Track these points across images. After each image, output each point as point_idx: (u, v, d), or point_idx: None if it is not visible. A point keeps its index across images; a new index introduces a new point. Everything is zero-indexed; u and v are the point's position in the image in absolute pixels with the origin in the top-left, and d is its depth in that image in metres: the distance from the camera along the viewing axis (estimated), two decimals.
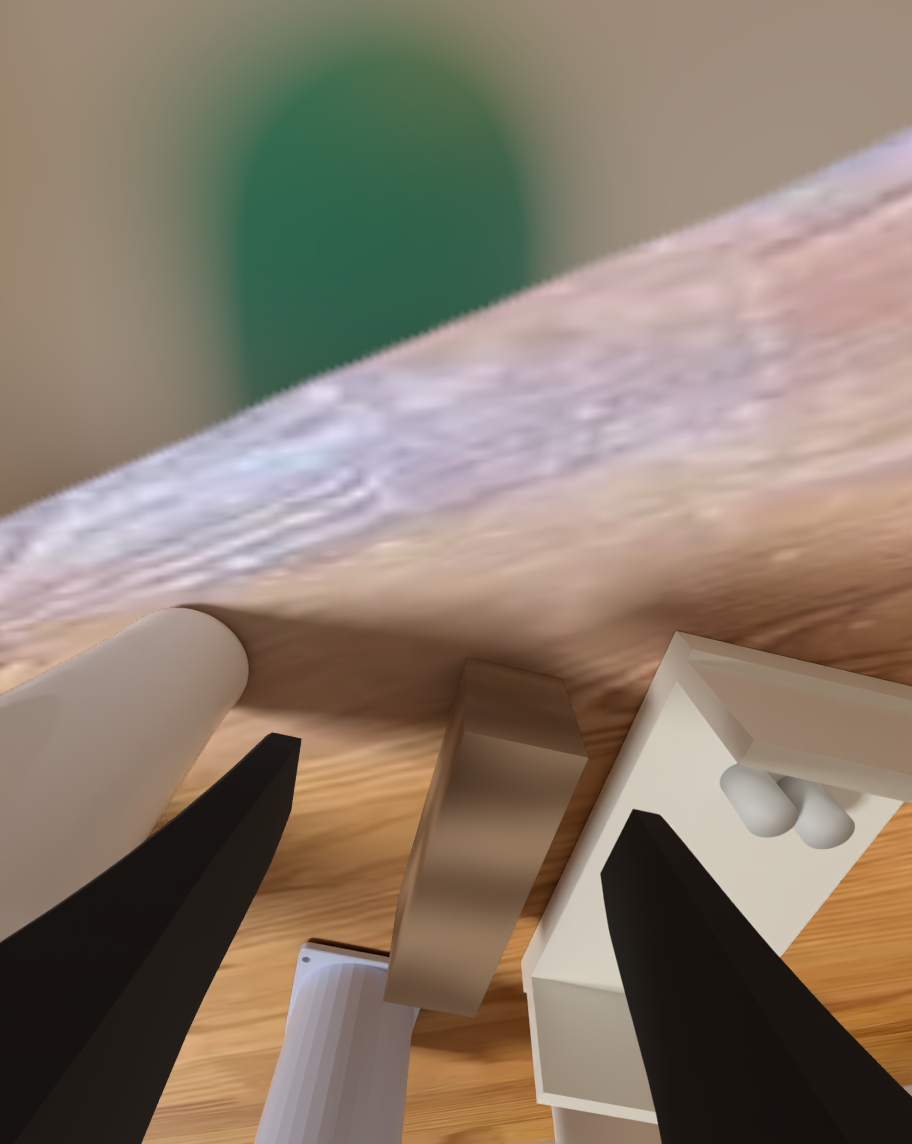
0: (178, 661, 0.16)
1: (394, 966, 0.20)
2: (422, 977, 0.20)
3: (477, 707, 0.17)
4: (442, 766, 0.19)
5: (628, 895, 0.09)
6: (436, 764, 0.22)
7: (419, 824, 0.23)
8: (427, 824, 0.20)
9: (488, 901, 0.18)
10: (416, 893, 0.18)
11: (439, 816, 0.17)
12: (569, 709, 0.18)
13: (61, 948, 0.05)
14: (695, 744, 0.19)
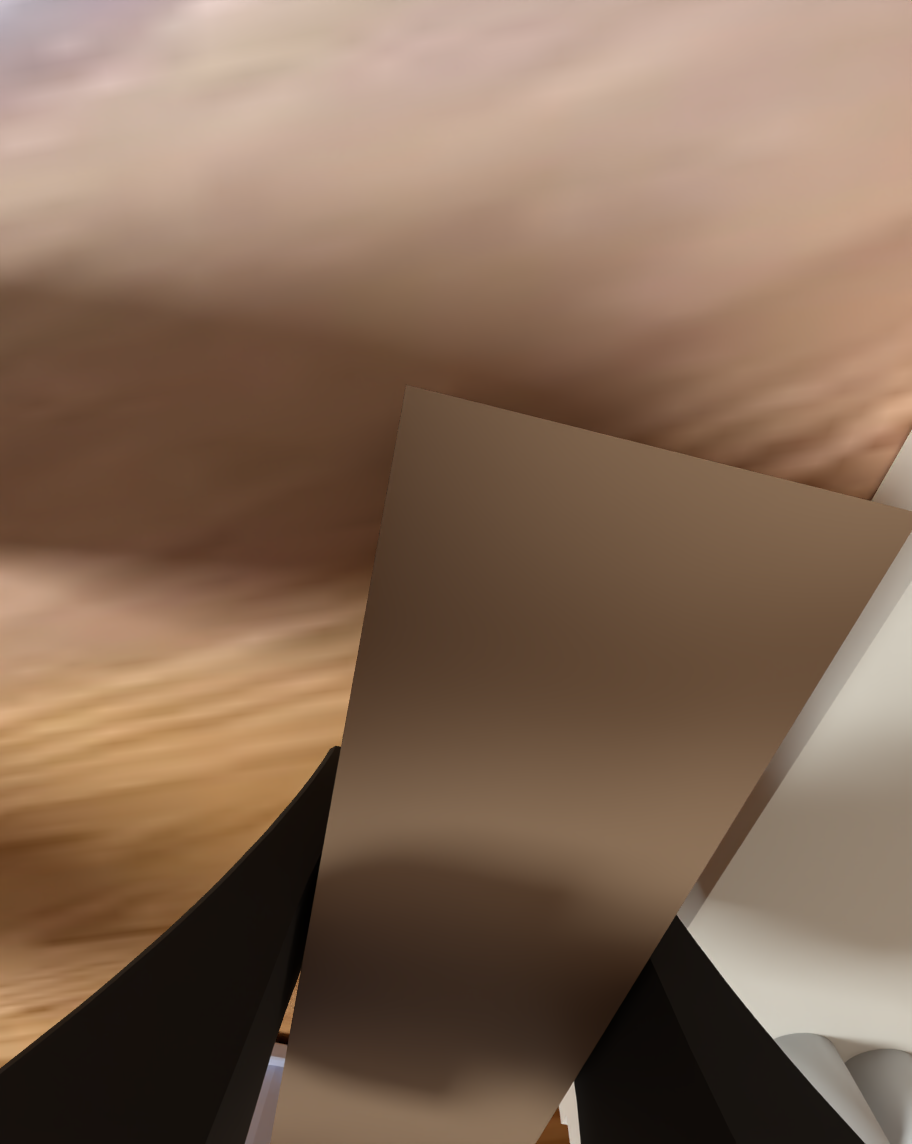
0: None
1: None
2: None
3: None
4: None
5: None
6: None
7: None
8: None
9: (501, 1023, 0.06)
10: (297, 1001, 0.06)
11: (338, 773, 0.05)
12: None
13: (188, 972, 0.05)
14: None
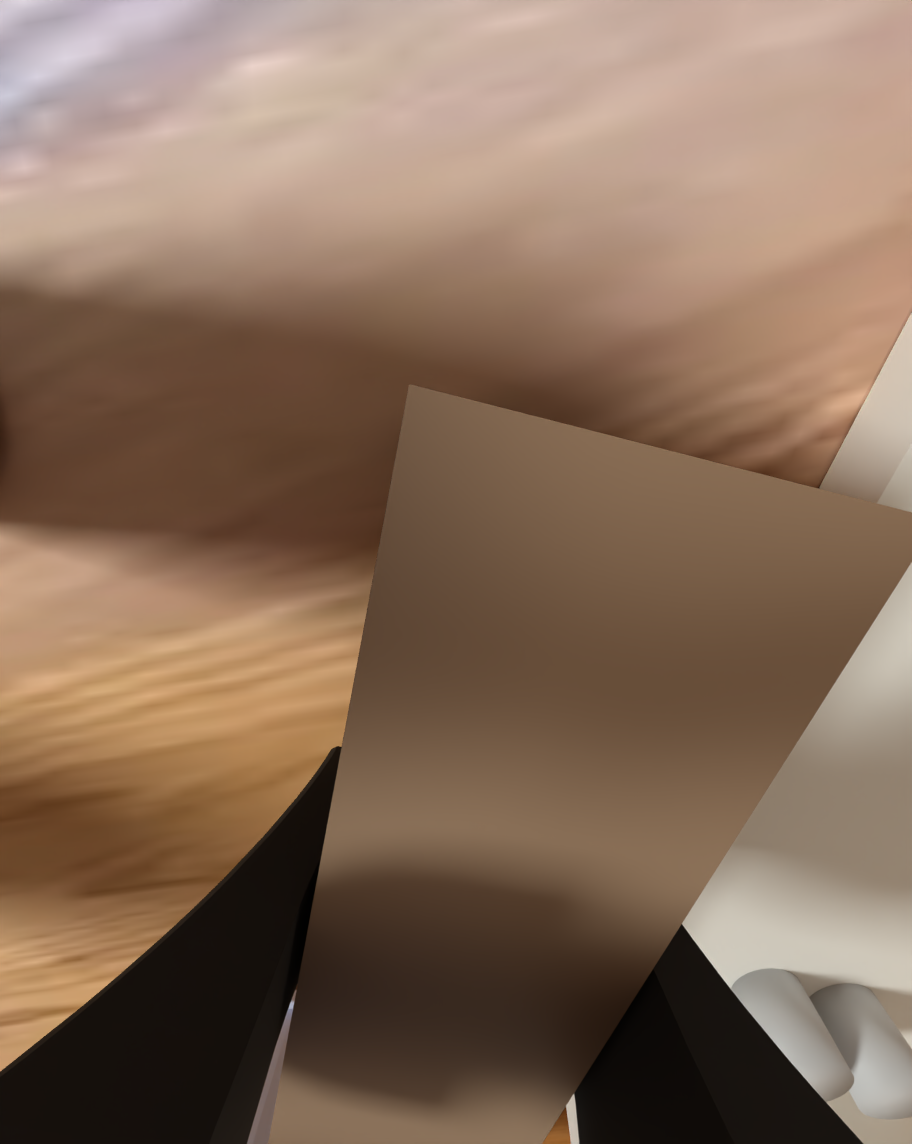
0: None
1: None
2: None
3: None
4: None
5: None
6: None
7: None
8: None
9: (501, 1033, 0.06)
10: (295, 1011, 0.06)
11: (337, 781, 0.05)
12: None
13: (190, 972, 0.05)
14: None
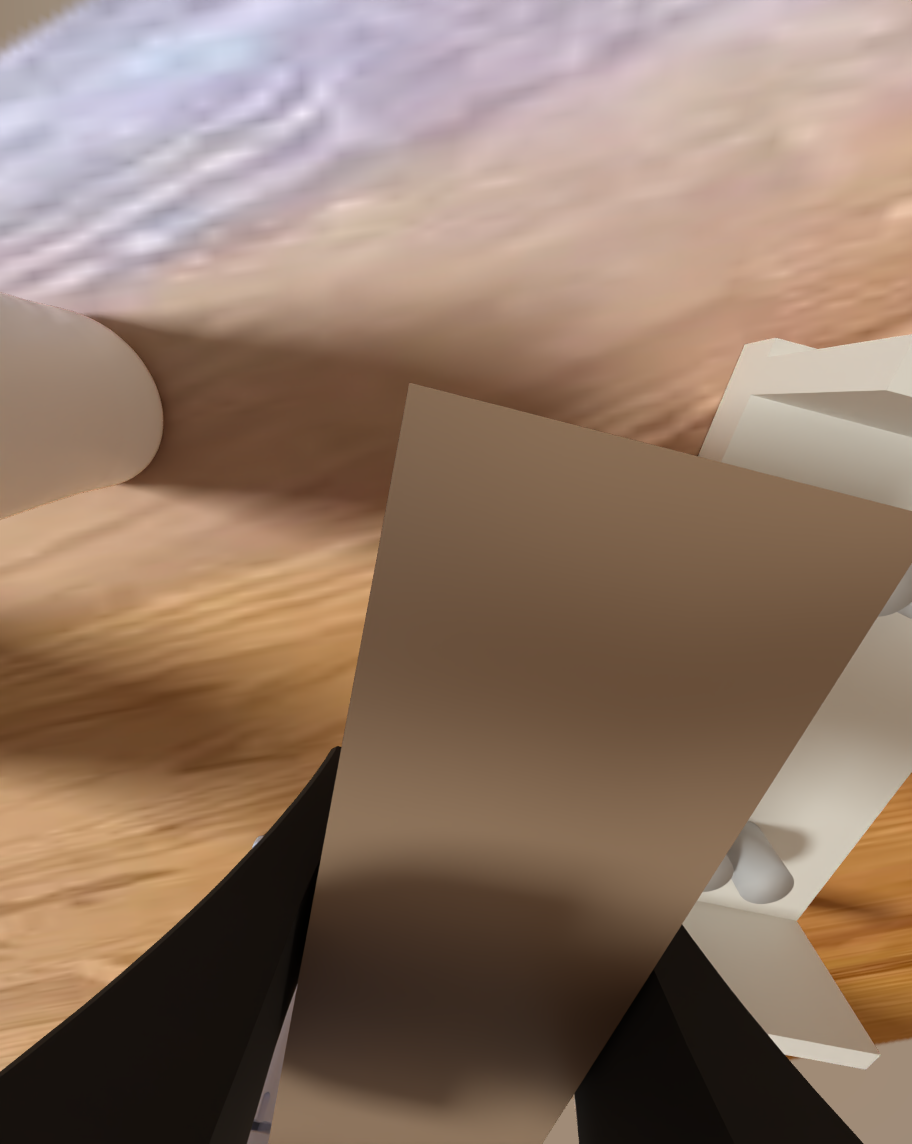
0: (29, 314, 0.11)
1: None
2: None
3: None
4: None
5: None
6: None
7: None
8: None
9: (502, 1033, 0.06)
10: (294, 1011, 0.06)
11: (337, 781, 0.05)
12: None
13: (190, 972, 0.05)
14: None
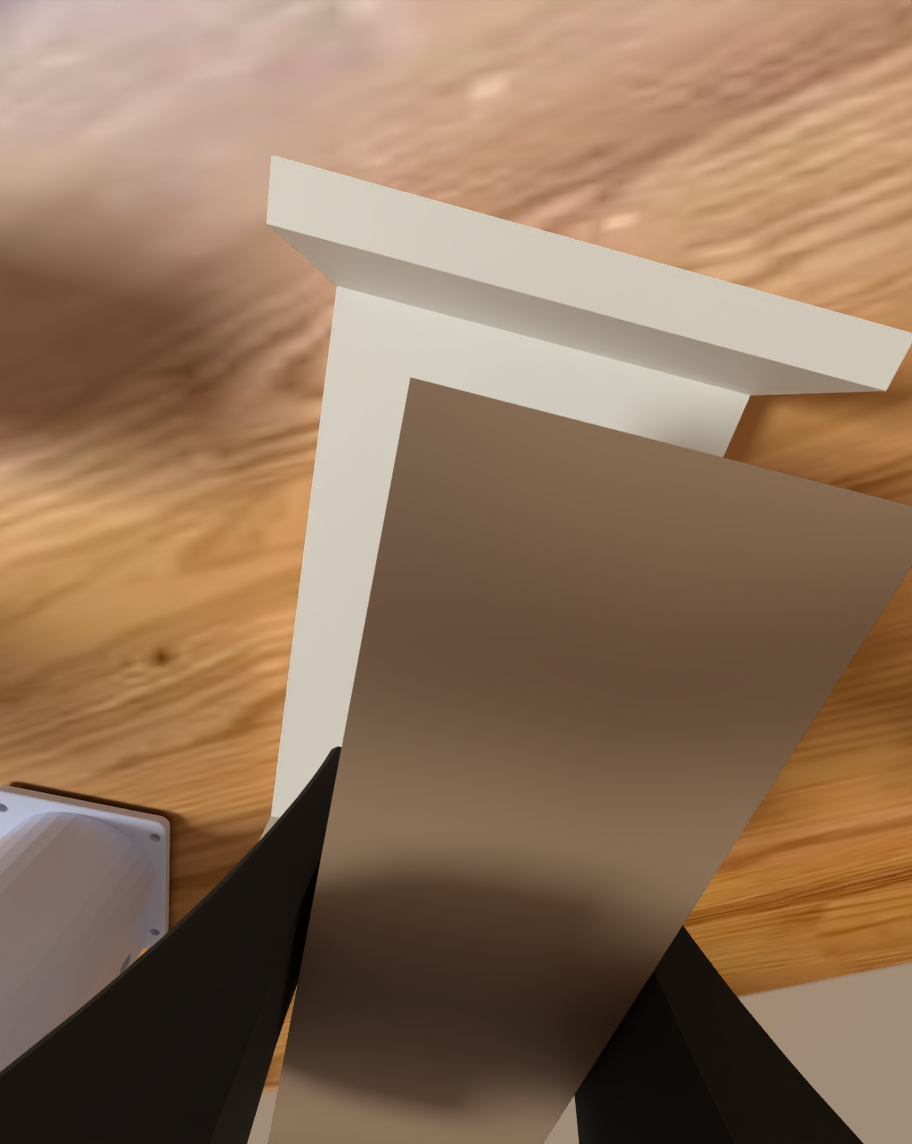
0: None
1: None
2: None
3: None
4: None
5: None
6: None
7: None
8: None
9: (503, 1034, 0.06)
10: (295, 1011, 0.06)
11: (338, 779, 0.05)
12: None
13: (190, 972, 0.05)
14: (391, 409, 0.13)
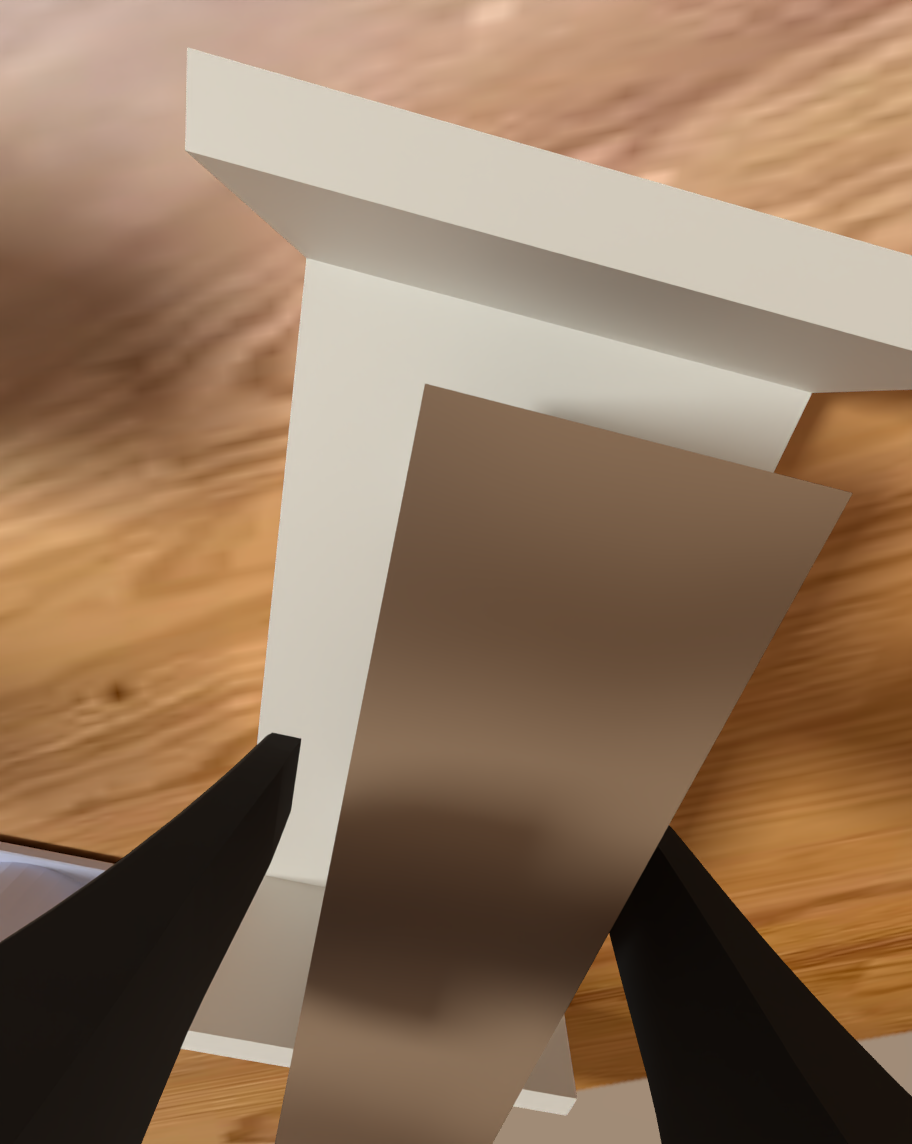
0: None
1: (287, 1092, 0.09)
2: (351, 1114, 0.09)
3: None
4: None
5: None
6: None
7: None
8: None
9: (500, 955, 0.07)
10: (318, 936, 0.07)
11: (360, 721, 0.06)
12: None
13: (60, 948, 0.05)
14: (375, 409, 0.11)
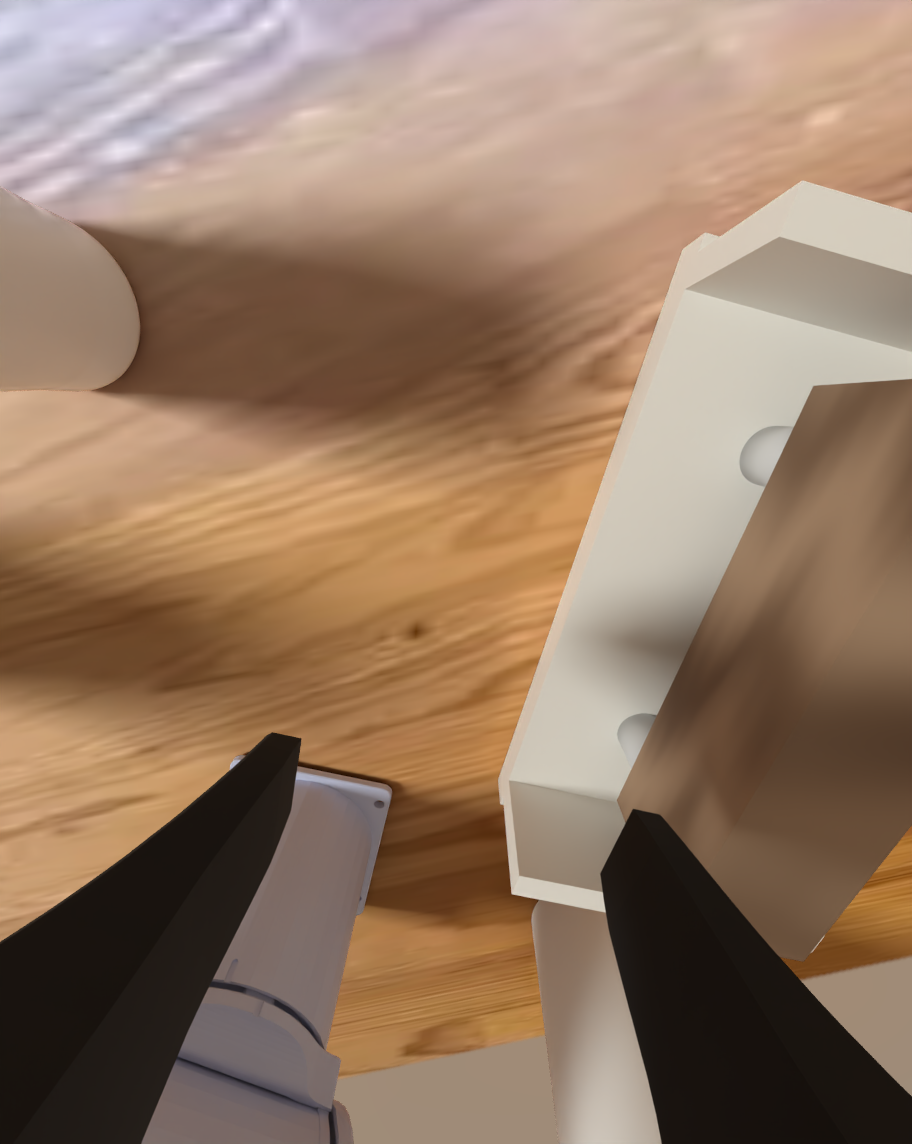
0: (9, 195, 0.12)
1: None
2: (745, 892, 0.13)
3: None
4: (797, 546, 0.12)
5: (628, 895, 0.09)
6: (730, 581, 0.14)
7: (680, 685, 0.16)
8: (761, 647, 0.13)
9: (908, 748, 0.11)
10: (789, 736, 0.11)
11: (884, 576, 0.10)
12: None
13: (60, 948, 0.05)
14: (708, 398, 0.15)
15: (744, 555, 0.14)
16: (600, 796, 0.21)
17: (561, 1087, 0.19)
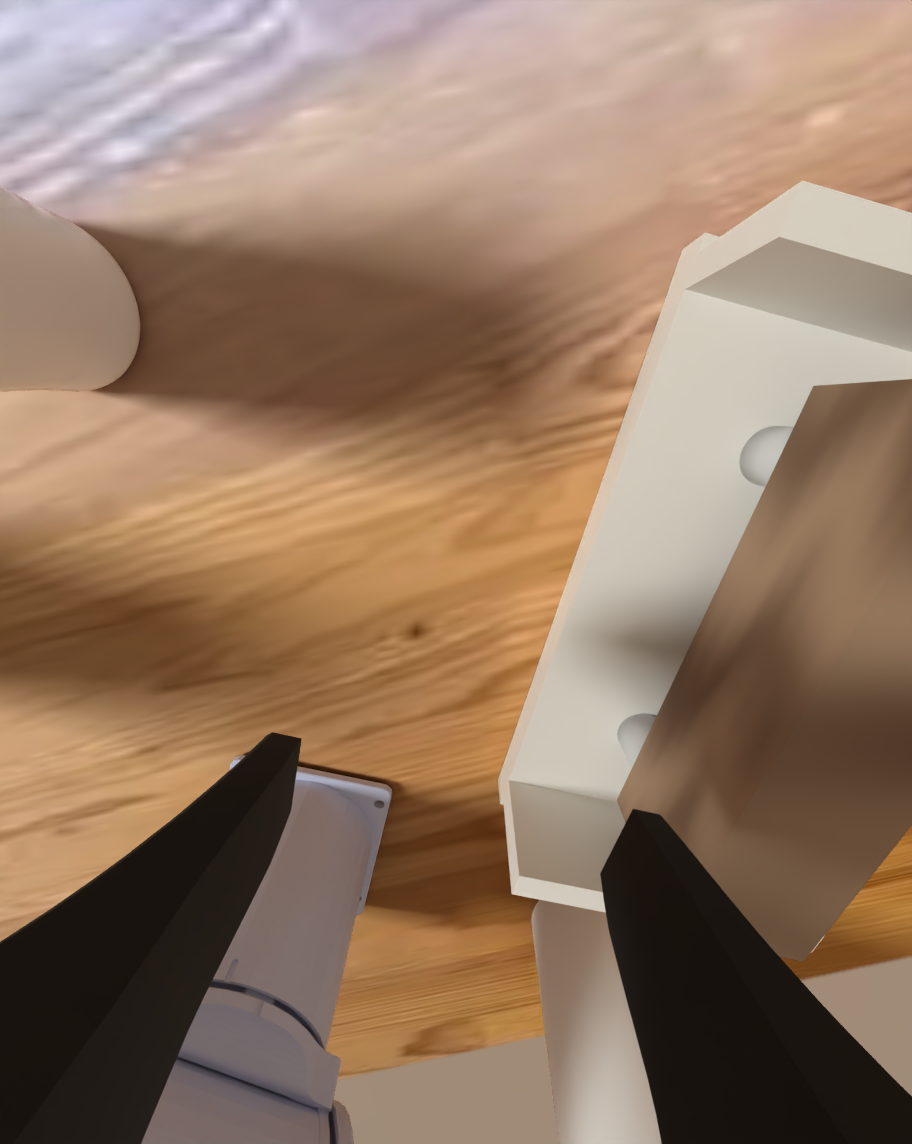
0: (9, 195, 0.12)
1: None
2: (745, 893, 0.13)
3: None
4: (797, 546, 0.12)
5: (628, 895, 0.09)
6: (730, 581, 0.14)
7: (680, 685, 0.16)
8: (761, 647, 0.13)
9: (908, 748, 0.11)
10: (789, 736, 0.11)
11: (884, 576, 0.10)
12: None
13: (60, 948, 0.05)
14: (708, 398, 0.15)
15: (744, 555, 0.14)
16: (600, 796, 0.21)
17: (561, 1087, 0.19)
